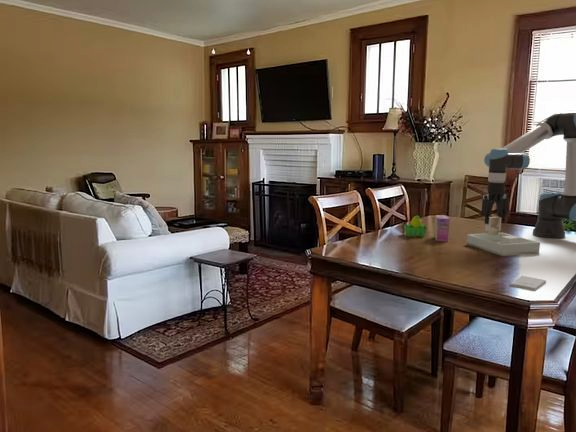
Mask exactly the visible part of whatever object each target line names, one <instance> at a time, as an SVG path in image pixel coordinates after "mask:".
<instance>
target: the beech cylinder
mask: <svg viewBox="0 0 576 432" xmlns="http://www.w3.org/2000/svg"><path fill="white" fill-rule="evenodd" d="M490 218H491V228H490V231H486V233H487V234H489V235H498V233H499V232H500V231H499V219H500V218H498V217H497V216H490Z"/></svg>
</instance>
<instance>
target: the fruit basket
mask: <svg viewBox="0 0 576 432" xmlns="http://www.w3.org/2000/svg"><path fill="white" fill-rule="evenodd" d="M410 220H411V221H410V224H403V227H404V230H405V231H404V233H405V235H406V237H416V236H420V238H424V237H425V235H426V231H427V230H428V227H427V226H426V225H423V224H422V220H421V218H420V216H419V215H415V216H413V217H412V219H410Z"/></svg>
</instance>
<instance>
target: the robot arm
mask: <svg viewBox="0 0 576 432" xmlns="http://www.w3.org/2000/svg"><path fill="white" fill-rule="evenodd" d="M556 136H563V140H564V141H565V142H566V155H565V156H566V157H565V175H564V177H565V180H564V190H563V191H561V192H546V193H545V192H543V193H541V194H540V195H539V199H538V211H537V220H536V223H535V226H534V228H533V229H532V235H533V236H536V237H541V238H550V239H561V238H562V239H564V238H566V231H565V227H564V222H563V220H569V221H573V222H574V221H575V222H576V110H566V111H565V110H564V111H558V112H557V113H554V114H552V115H549V116H548V117H546V118H544V119H543V120H541V121H540V122H537V124H536V126H535V127H533V128H532V129H530V130H529V131H527V132H526V133H524V134H523V135H521V136H519V137H518V138H516V139H514V140H512V141H511V142H510V143H508V144H506V145H505V146H503V147H502V148H491V150H490V151H489V152H488V153H486V155H485V156H484V160H483V162H484V165H485V166H486V167H488V174H487V175H488V177H487V181H488V182H487V192H486V194H482V195H481V200H482V201H481V216H482V217H484V225H485V228H484V230H485V231H486V232H487V231H490V228H491V218H490V217H491V215H492V211H493V208H494V204H496V213H497V216H496V217H498V218H500V219H499V231H498V232H501V229H502V228H501V227H502V224H503V218H504V217H506V216H507V214H508V204H509V203H508V202H509V201H508V200H509V198H510V195H509V194H505V192H504V191H505V190H506V179H507V170H525V169H527V168H528V167H529V165H530V162H531V159H530V156H529V155H528V154H527V153H525V152H527V151H528V150H529V149H532V148H533V147H535V146H536V145H538V144H539V143H541V142H542V141H544V140H549V139H552V138H553V137H556Z"/></svg>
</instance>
